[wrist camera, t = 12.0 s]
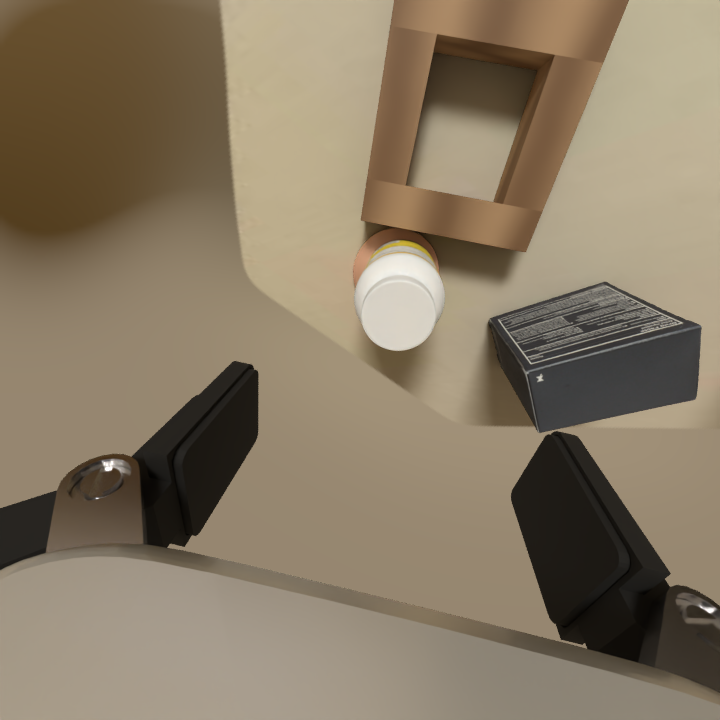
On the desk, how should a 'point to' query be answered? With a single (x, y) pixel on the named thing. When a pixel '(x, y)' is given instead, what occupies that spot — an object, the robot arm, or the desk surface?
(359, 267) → the coaster
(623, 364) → the small box
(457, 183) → the desk surface
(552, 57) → the pocket holder
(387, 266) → the pill bottle
